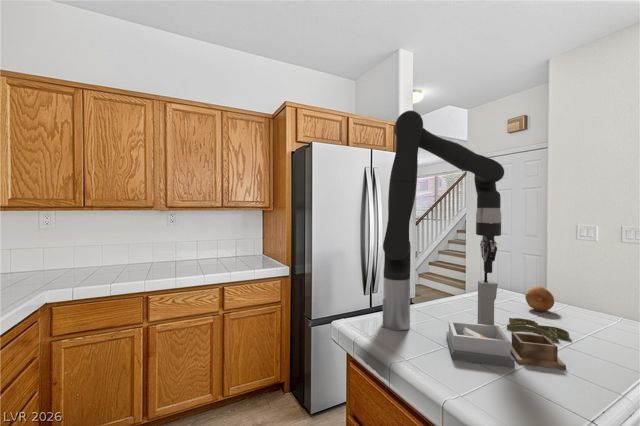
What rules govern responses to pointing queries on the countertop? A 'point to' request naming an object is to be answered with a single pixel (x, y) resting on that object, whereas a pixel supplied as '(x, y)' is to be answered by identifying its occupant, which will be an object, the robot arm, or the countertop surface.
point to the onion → (539, 298)
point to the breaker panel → (480, 344)
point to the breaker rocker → (471, 333)
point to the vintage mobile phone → (486, 301)
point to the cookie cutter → (538, 329)
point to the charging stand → (535, 350)
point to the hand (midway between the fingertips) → (487, 272)
